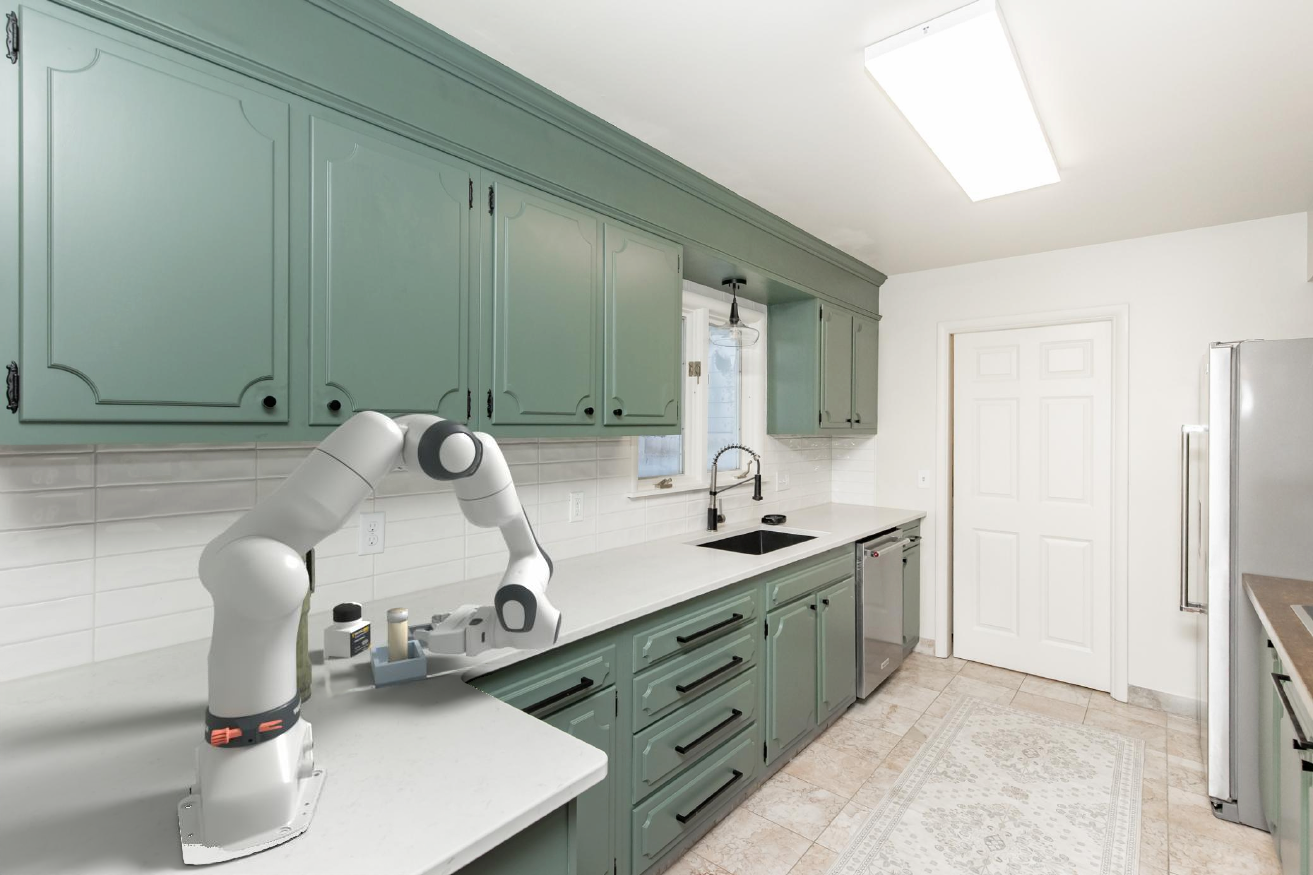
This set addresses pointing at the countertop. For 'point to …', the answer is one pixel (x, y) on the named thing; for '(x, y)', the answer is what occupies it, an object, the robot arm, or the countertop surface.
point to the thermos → (305, 634)
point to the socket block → (421, 626)
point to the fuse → (397, 634)
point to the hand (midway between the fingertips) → (424, 625)
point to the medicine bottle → (347, 632)
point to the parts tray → (397, 665)
